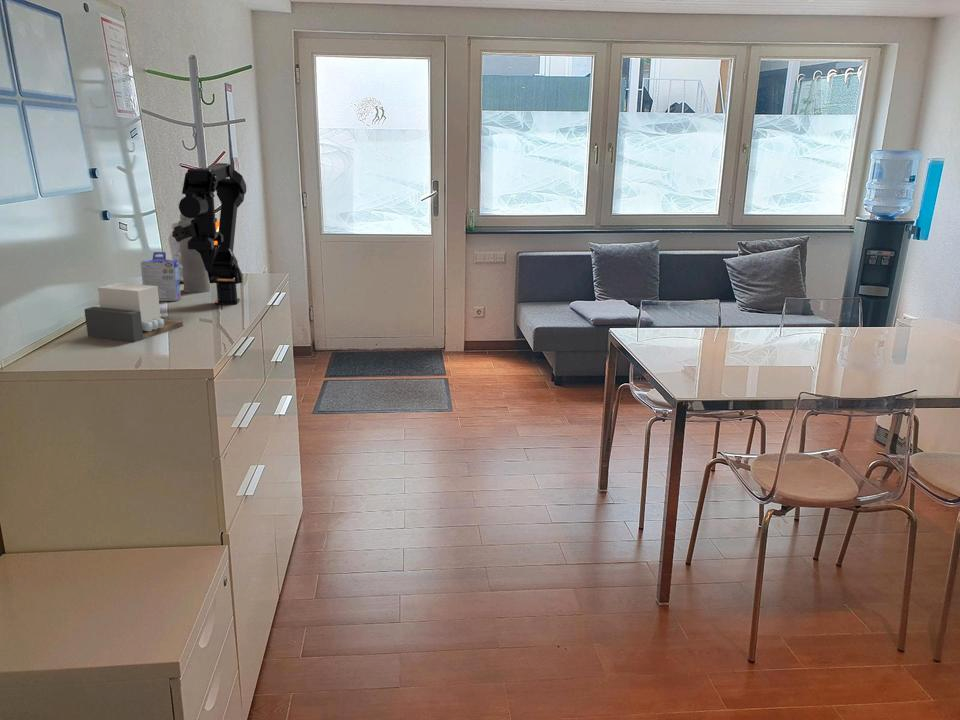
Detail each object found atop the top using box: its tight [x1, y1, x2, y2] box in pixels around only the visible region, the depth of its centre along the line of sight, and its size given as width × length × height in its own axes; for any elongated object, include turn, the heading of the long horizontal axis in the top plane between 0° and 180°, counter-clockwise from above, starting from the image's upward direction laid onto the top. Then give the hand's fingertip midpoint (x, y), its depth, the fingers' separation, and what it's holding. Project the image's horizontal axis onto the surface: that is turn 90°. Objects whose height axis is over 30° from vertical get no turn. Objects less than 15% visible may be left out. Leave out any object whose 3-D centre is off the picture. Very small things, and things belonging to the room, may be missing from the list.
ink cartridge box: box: [140, 251, 182, 302], centre depth 229 cm, size 10×6×14 cm, turn 101°
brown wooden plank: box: [142, 319, 184, 340], centre depth 193 cm, size 18×14×1 cm
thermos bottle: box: [177, 213, 211, 294], centre depth 242 cm, size 8×8×28 cm
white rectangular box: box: [97, 282, 165, 331], centre depth 190 cm, size 7×14×10 cm, turn 73°
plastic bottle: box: [168, 222, 184, 284], centre depth 256 cm, size 6×7×20 cm
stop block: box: [83, 306, 144, 343], centre depth 185 cm, size 3×14×7 cm, turn 73°
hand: (208, 271), depth 212 cm, fingers closed
